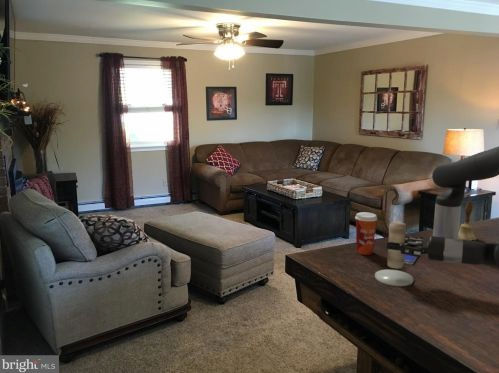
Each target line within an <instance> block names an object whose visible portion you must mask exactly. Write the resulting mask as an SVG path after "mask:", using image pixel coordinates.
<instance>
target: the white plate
mask: <svg viewBox="0 0 499 373" xmlns="http://www.w3.org/2000/svg"><path fill="white" fill-rule="evenodd" d="M374 278H375V280H377V281H378V282H379V283H381V284H383V285H387V286H391V287H408V286H411V285H412V284H413V283H414V277H413V276H412V275H411V274H409V273H407V272H405V271H402V270H397V269H381V270H377V271H376V272H375V273H374Z"/></svg>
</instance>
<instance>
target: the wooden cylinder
mask: <svg viewBox="0 0 499 373" xmlns="http://www.w3.org/2000/svg"><path fill="white" fill-rule="evenodd" d="M388 229H389V230H388V242H394V243H399V244H400V243H405V236H406V230H407V224H406V223H404V222H399V221H391V222H389V228H388ZM386 263H387V265H386V266H387V267H389V268H392V269H395V270H397V269H402V268H403V269H404V264H405V263H404V254H401V252H400V251H399V250H391V249H387V262H386Z"/></svg>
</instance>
